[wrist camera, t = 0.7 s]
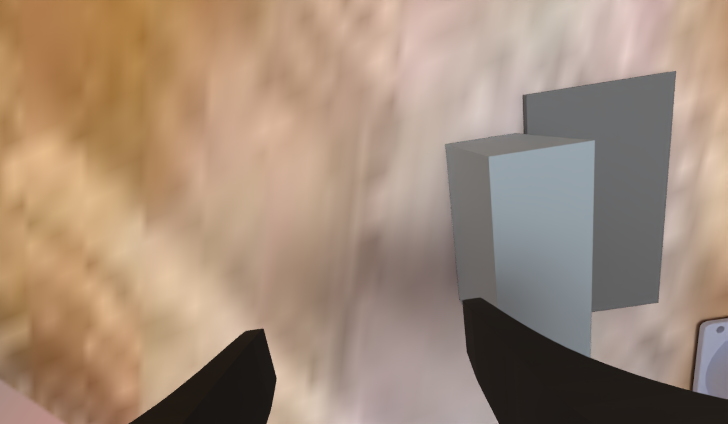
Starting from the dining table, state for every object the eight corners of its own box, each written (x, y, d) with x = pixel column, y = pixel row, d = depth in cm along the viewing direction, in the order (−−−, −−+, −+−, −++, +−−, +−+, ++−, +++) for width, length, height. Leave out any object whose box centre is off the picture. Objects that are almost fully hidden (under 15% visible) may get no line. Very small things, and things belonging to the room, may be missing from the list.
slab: (514, 133, 20) (594, 140, 13) (520, 289, 22) (590, 363, 16) (444, 144, 20) (488, 156, 13) (458, 298, 22) (501, 375, 16)
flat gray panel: (669, 72, 19) (676, 70, 18) (653, 299, 22) (658, 302, 22) (523, 95, 19) (526, 94, 19) (530, 316, 23) (532, 320, 22)
